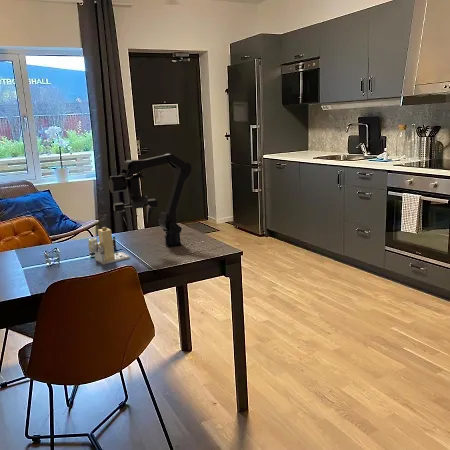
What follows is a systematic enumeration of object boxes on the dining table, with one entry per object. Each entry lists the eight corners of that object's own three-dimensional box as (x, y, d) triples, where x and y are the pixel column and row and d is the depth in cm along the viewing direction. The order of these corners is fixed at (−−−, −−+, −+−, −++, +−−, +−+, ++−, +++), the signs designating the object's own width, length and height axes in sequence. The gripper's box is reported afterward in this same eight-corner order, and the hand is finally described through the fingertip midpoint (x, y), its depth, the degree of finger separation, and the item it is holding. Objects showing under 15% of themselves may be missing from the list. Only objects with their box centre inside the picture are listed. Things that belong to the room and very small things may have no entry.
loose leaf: (110, 255, 207) (106, 225, 204) (114, 258, 203) (111, 227, 200) (101, 257, 205) (97, 227, 202) (105, 260, 201) (101, 229, 198)
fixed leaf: (121, 254, 212) (119, 237, 211) (129, 258, 205) (127, 241, 203) (94, 260, 206) (92, 243, 204) (101, 264, 198) (99, 247, 197)
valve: (89, 255, 214) (116, 252, 216) (87, 241, 213) (114, 238, 215) (90, 251, 220) (116, 248, 223) (88, 237, 219) (114, 234, 221)
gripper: (114, 194, 196) (118, 230, 200) (158, 189, 202) (162, 224, 206) (111, 190, 207) (115, 225, 210) (153, 186, 212) (157, 220, 216)
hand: (137, 224), depth 210 cm, fingers open, 9 cm apart
